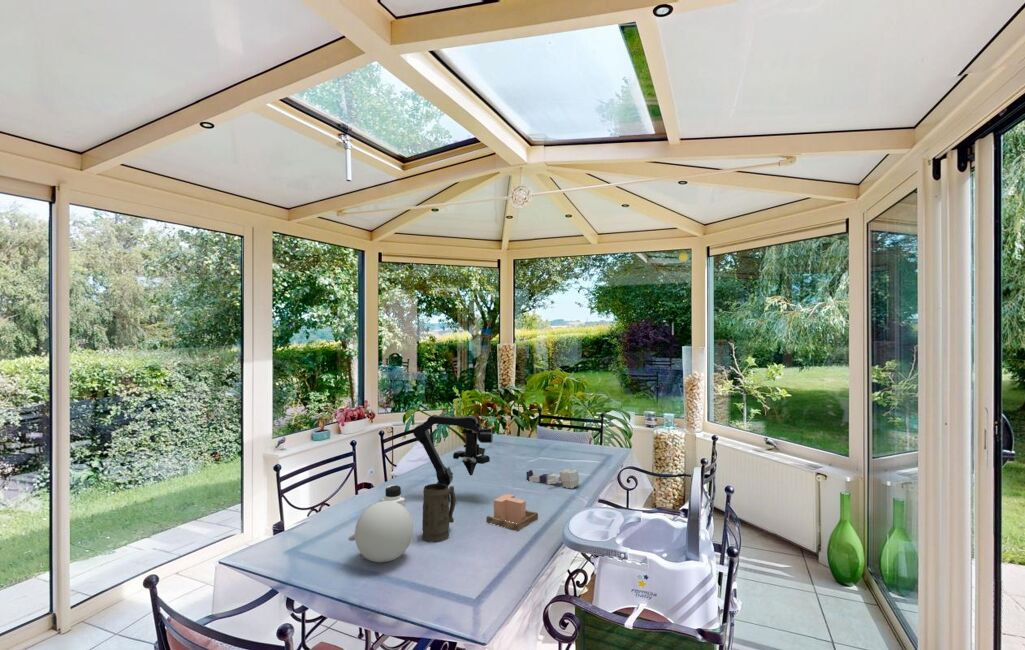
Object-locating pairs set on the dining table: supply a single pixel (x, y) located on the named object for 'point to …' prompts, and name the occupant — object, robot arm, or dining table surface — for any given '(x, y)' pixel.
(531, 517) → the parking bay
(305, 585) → the dining table surface
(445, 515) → the beer stein
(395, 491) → the container
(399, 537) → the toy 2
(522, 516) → the t block
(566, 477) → the toy
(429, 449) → the robot arm
